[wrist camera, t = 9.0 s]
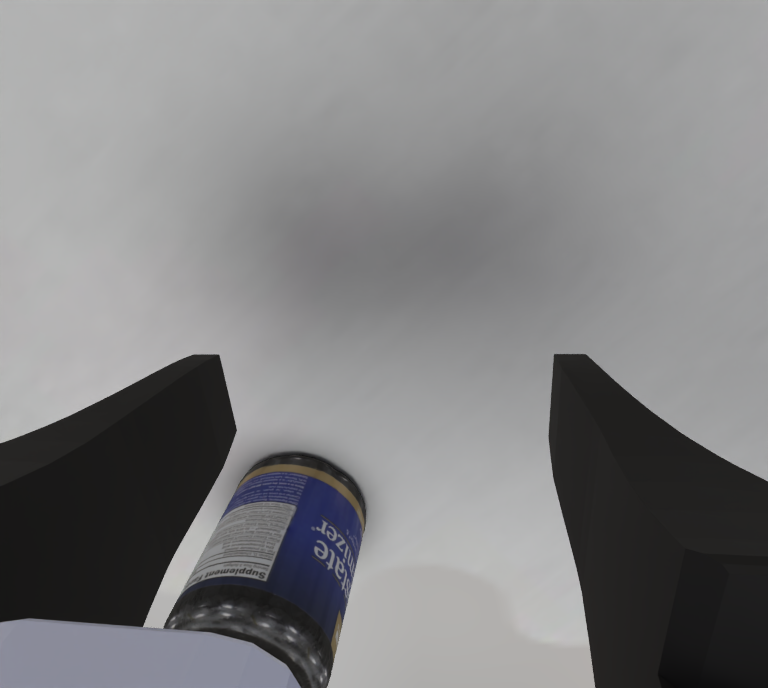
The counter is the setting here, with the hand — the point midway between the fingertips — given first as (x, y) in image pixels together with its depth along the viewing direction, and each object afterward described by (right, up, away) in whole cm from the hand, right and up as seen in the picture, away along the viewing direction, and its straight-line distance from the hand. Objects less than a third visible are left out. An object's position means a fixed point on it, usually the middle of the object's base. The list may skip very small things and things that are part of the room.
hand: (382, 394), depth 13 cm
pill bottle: (-4, -6, +15) cm, 16 cm away
